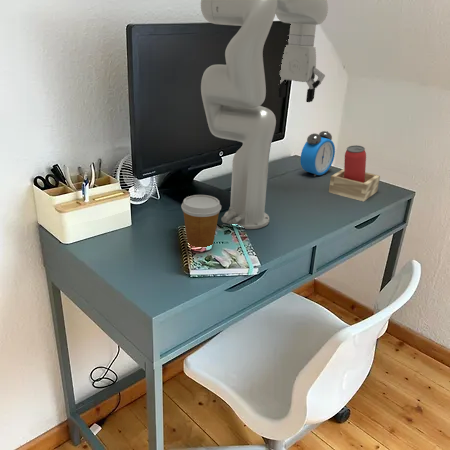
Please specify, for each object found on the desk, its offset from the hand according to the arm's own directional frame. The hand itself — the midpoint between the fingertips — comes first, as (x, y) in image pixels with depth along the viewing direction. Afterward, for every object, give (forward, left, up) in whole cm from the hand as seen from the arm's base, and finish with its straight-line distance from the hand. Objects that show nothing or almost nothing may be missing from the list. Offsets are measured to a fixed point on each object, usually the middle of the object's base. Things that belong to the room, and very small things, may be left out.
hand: (295, 99), depth 155 cm
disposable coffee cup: (-55, -6, -28) cm, 62 cm away
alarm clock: (+18, -2, -28) cm, 34 cm away
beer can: (+9, -20, -25) cm, 33 cm away
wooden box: (+9, -20, -29) cm, 36 cm away
